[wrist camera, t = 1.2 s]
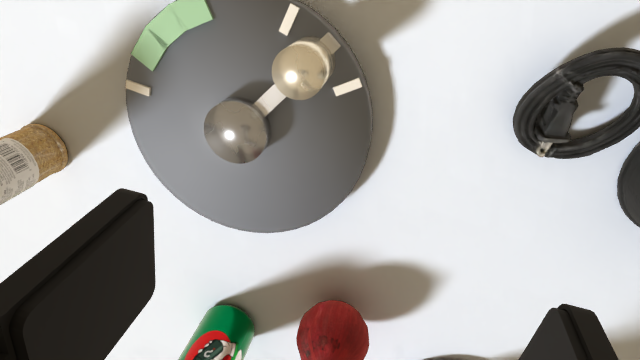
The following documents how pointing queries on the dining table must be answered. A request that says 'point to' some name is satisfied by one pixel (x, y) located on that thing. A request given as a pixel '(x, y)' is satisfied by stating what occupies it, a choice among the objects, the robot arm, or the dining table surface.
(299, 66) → the needle
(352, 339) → the onion
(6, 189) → the spice jar
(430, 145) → the dining table surface
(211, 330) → the soda can
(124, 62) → the dining table surface
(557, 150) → the milk frother
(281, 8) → the dial
